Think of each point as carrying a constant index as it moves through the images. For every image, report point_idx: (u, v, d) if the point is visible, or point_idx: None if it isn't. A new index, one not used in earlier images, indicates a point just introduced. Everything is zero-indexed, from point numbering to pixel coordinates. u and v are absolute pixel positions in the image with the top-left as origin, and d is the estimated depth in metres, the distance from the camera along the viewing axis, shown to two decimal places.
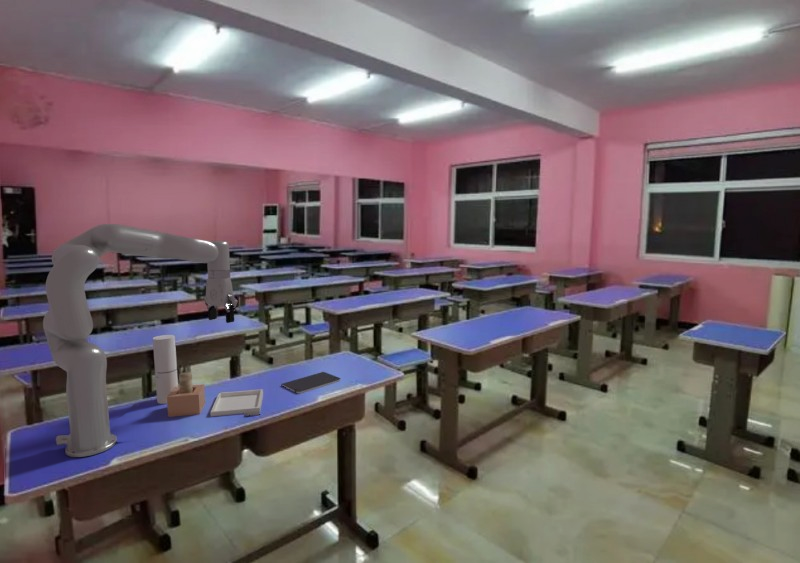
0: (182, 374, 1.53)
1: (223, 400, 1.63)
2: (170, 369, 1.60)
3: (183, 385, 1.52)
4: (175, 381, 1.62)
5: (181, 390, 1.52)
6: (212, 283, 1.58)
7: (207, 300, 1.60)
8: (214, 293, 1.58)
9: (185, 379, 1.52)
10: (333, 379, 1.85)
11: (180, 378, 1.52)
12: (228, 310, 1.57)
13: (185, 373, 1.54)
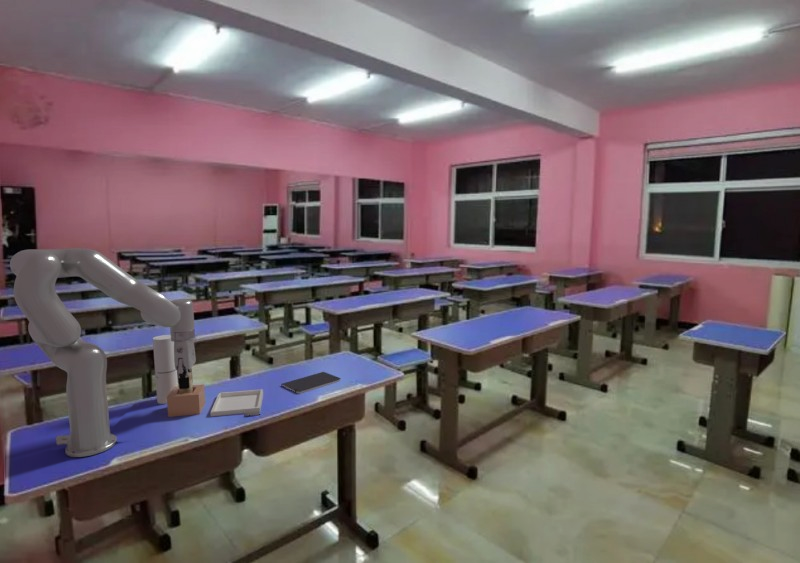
0: None
1: (223, 400, 1.63)
2: (170, 369, 1.60)
3: None
4: (175, 381, 1.62)
5: (181, 390, 1.52)
6: (192, 343, 1.52)
7: (190, 364, 1.50)
8: (192, 352, 1.53)
9: None
10: (333, 379, 1.85)
11: None
12: (191, 370, 1.57)
13: None
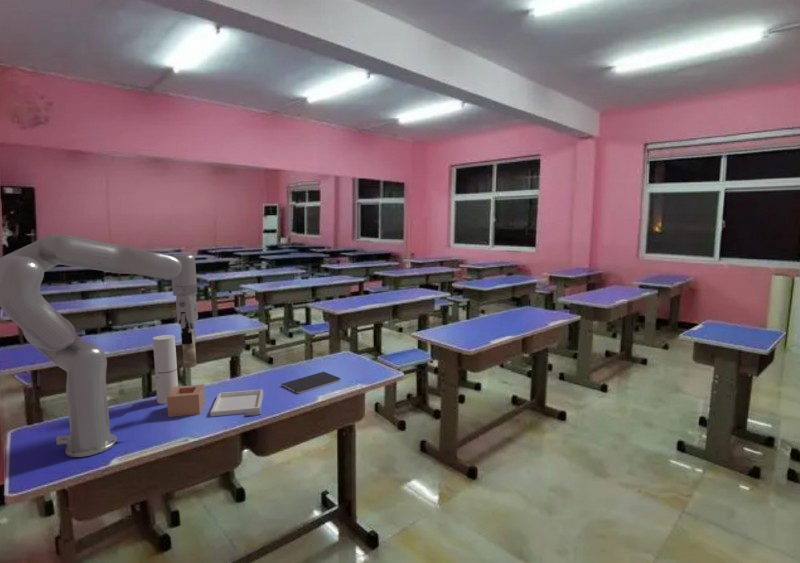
0: None
1: (223, 400, 1.63)
2: (170, 369, 1.60)
3: None
4: (175, 381, 1.62)
5: (184, 346, 1.51)
6: (194, 298, 1.51)
7: (193, 318, 1.48)
8: (195, 308, 1.52)
9: None
10: (333, 379, 1.85)
11: None
12: (193, 327, 1.55)
13: None
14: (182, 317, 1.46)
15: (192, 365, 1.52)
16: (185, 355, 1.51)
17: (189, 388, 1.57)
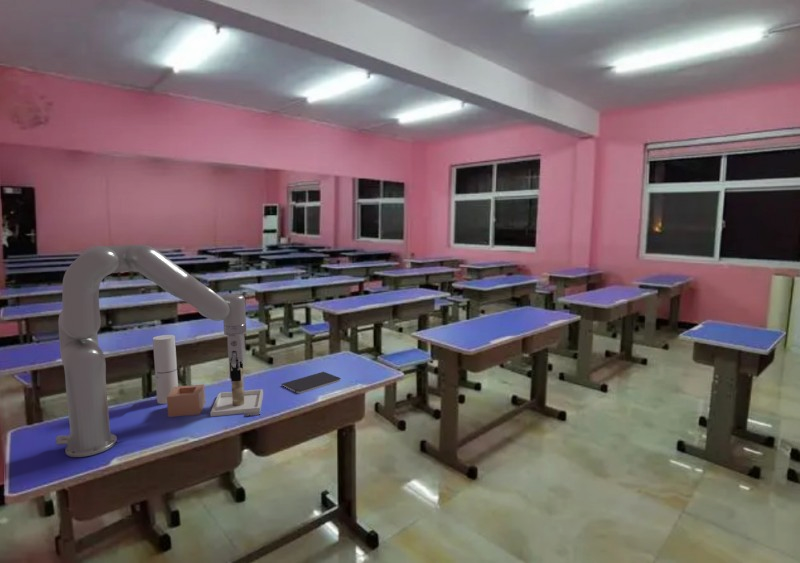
0: None
1: (223, 400, 1.63)
2: (170, 369, 1.60)
3: (235, 381, 1.56)
4: (175, 381, 1.62)
5: (233, 385, 1.57)
6: (243, 337, 1.57)
7: (243, 357, 1.55)
8: (244, 345, 1.58)
9: None
10: (333, 379, 1.85)
11: None
12: None
13: None
14: None
15: (241, 403, 1.58)
16: (234, 394, 1.57)
17: (189, 388, 1.57)
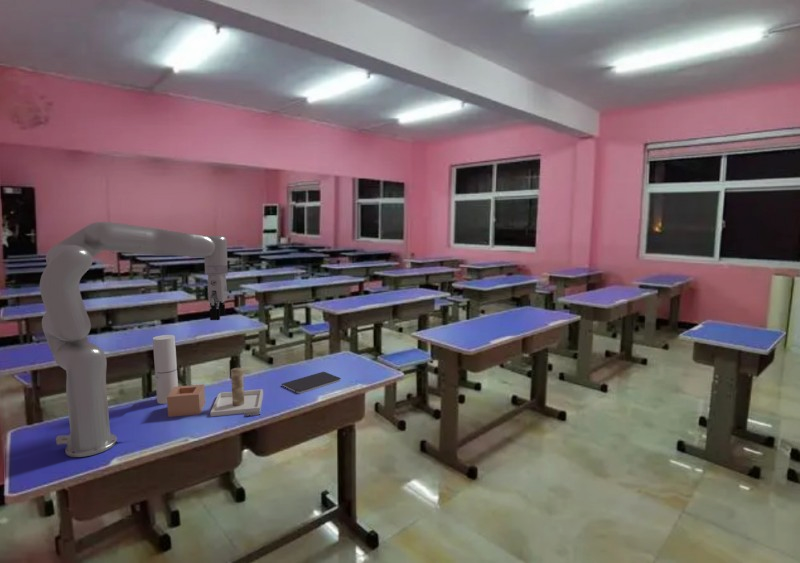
0: (234, 369, 1.58)
1: (223, 400, 1.63)
2: (170, 369, 1.60)
3: (235, 380, 1.57)
4: (175, 381, 1.62)
5: (233, 385, 1.57)
6: (224, 278, 1.58)
7: (223, 297, 1.55)
8: (225, 288, 1.59)
9: (237, 374, 1.56)
10: (333, 379, 1.85)
11: (232, 373, 1.56)
12: (224, 302, 1.64)
13: (236, 369, 1.59)
14: None
15: (241, 403, 1.58)
16: (234, 394, 1.57)
17: (189, 388, 1.57)
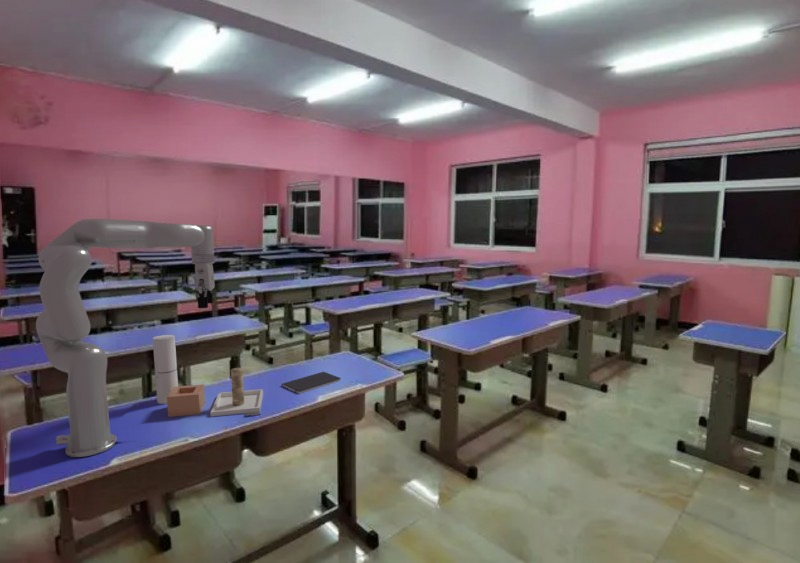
0: (234, 369, 1.58)
1: (223, 400, 1.63)
2: (170, 369, 1.60)
3: (235, 380, 1.57)
4: (175, 381, 1.62)
5: (233, 385, 1.57)
6: (211, 267, 1.60)
7: (210, 286, 1.58)
8: (212, 276, 1.61)
9: (237, 374, 1.56)
10: (333, 379, 1.85)
11: (232, 373, 1.56)
12: (211, 290, 1.67)
13: (236, 369, 1.59)
14: None
15: (241, 403, 1.58)
16: (234, 394, 1.57)
17: (189, 388, 1.57)
